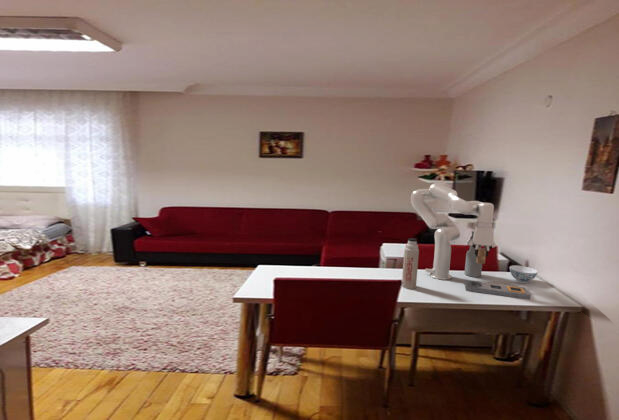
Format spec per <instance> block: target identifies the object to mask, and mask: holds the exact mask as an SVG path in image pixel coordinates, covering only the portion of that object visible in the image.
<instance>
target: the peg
mask: <svg viewBox="0 0 619 420" xmlns="http://www.w3.org/2000/svg"><path fill="white" fill-rule="evenodd" d="M485 257H486V248H485V249H484V247H483V248H482V247H481V248H478V257H477V258H476V262H477V263H479V264H482V265H485V264H486V258H485Z"/></svg>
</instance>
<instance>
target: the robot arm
mask: <svg viewBox="0 0 619 420" xmlns="http://www.w3.org/2000/svg"><path fill="white" fill-rule="evenodd" d="M438 199H439V200H440V201H442V202H445V203H446V204H448V205H449V206H450V207H451V208H452V209H453V210H455V211H456V212H459V213H460V214H463V215H468V216H469V215H477V220H476V221H475V222H474V225H476V226H475V228H474V230H473V231H474V235H473V239H472V240H471V241H470V240H469V242H468V244H469V246H470V245H472V246H473V247H474V248H475V255H476V257H478V246H479V245H482V246H483V247H484V246H486V248H485V249H486V257H485V259H487V257H488V256H489V251H490V250H492V249H493V248H495V247H497V244H496V243H495V241H494V228H493V219H494V218H493V217H494V209H495V206H494V204H493V203H491V202H482V201H479V200H470V201H468V200H464V199H463V198H460V197H459V196H458V192H457V191H456V190H455V189H452V188H451V186H450V184H448V183H446V182H435V183H432V184H431V185H430V186H429V187H428V188H422V189H421V188H419V189H416V190H414V191H413V192H412V193H411V195H410V202H411V205H412V208H413V209H414V211H415V212H416V213H418V215H419V216H420V217H421V219H422V220H423V222H425V224H426V226H427V227H428V228H429V229H432V230H435V232H434V254H433V255H434V256H433V257H434V258H433V264H432V266H433V267H432V268H427V267H426V268H425V269H424V270H425V272H427V273H430V274H429V276H430V277H432V278H433V279H435V280H436V279H437V280H442V281H444V280H445V281H448V280H451V279H452V275H450V265H451V256H452V255H451V254H452V245H451V242H455V241H457V240H459V239H460V237H461V231H460V229H459V227H458V226H457V225H456V224H455V223H454V222H453V220H452V219H451V218H450V217H449V216H448V215H447V214H445V213H442V212H441V213H439V212H438V213H437V212H435V211H434V209H433V208H432V207H431V206H430V205H429V204H428V203H430V202H434V201H436V200H438ZM473 243H474V244H475V245H474V244H473Z"/></svg>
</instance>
